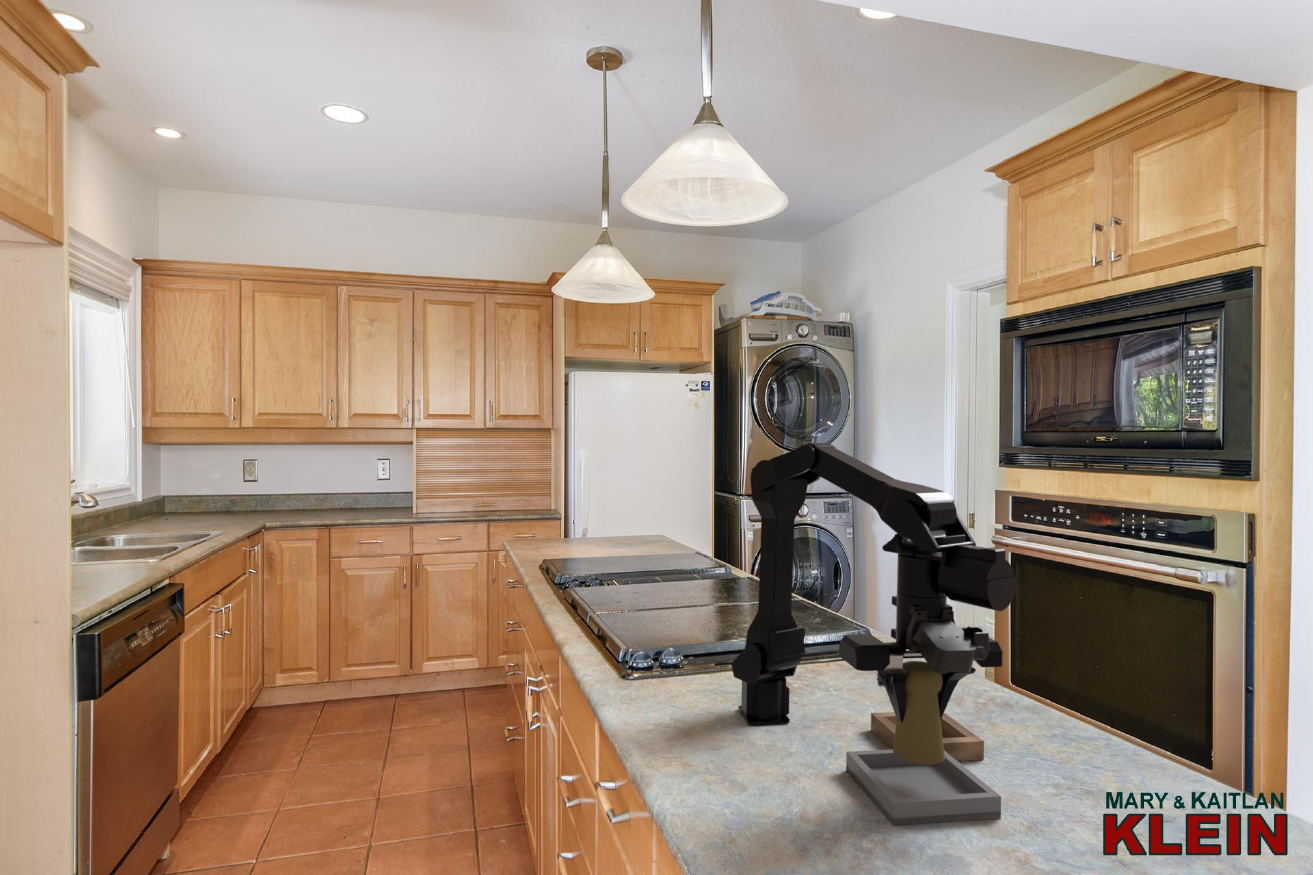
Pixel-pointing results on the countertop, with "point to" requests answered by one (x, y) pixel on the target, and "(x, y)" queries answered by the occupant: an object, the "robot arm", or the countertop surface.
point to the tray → (922, 789)
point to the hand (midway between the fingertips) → (918, 720)
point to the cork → (920, 717)
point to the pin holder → (955, 735)
